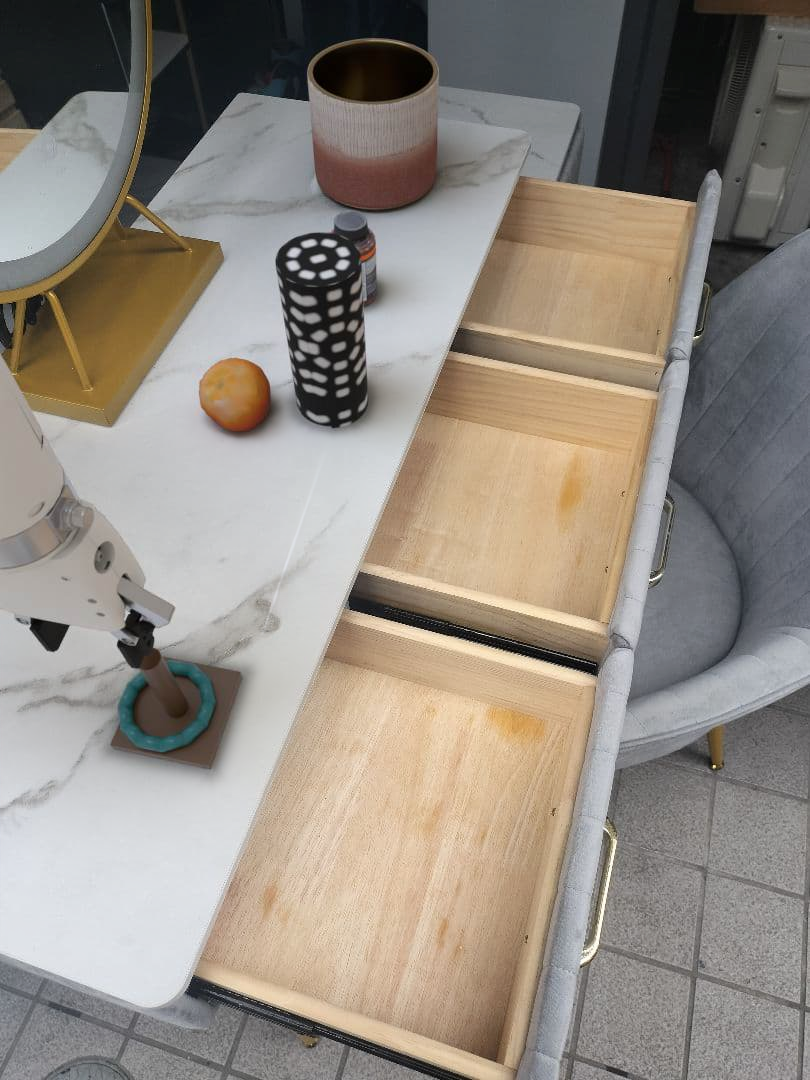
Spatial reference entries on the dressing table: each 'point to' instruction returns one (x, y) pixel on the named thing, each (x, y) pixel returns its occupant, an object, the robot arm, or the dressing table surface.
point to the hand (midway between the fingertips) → (100, 642)
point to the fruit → (235, 394)
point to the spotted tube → (325, 326)
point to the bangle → (177, 739)
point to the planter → (374, 122)
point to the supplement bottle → (360, 248)
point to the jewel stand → (179, 710)
